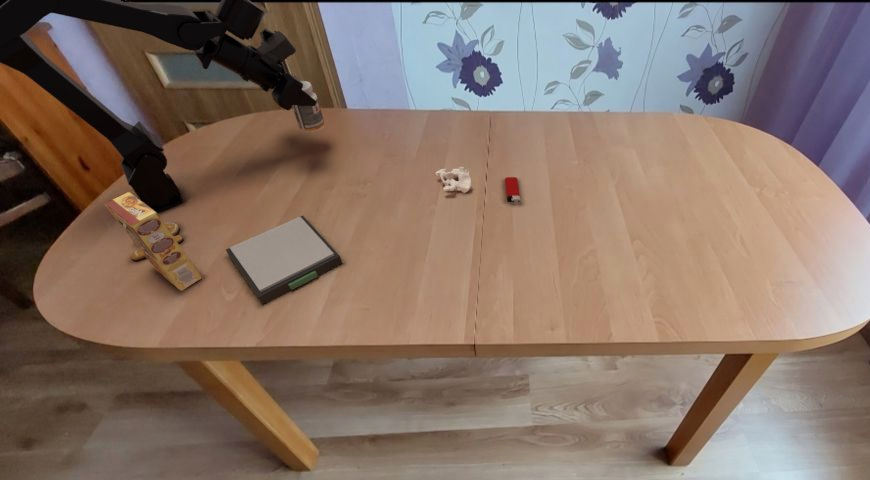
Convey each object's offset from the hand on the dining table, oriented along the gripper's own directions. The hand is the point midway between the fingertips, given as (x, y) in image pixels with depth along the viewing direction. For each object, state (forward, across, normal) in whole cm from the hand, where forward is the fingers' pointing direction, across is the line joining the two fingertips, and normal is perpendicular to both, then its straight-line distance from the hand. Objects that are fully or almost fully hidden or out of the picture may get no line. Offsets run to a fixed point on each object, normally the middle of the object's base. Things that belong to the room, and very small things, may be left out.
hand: (310, 98), depth 103 cm
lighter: (+27, -41, -10) cm, 50 cm away
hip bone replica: (+21, -32, -3) cm, 38 cm away
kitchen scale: (-6, -32, +24) cm, 40 cm away
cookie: (-18, -13, +36) cm, 43 cm away
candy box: (-18, -24, +36) cm, 47 cm away
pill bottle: (+4, 0, +6) cm, 7 cm away
